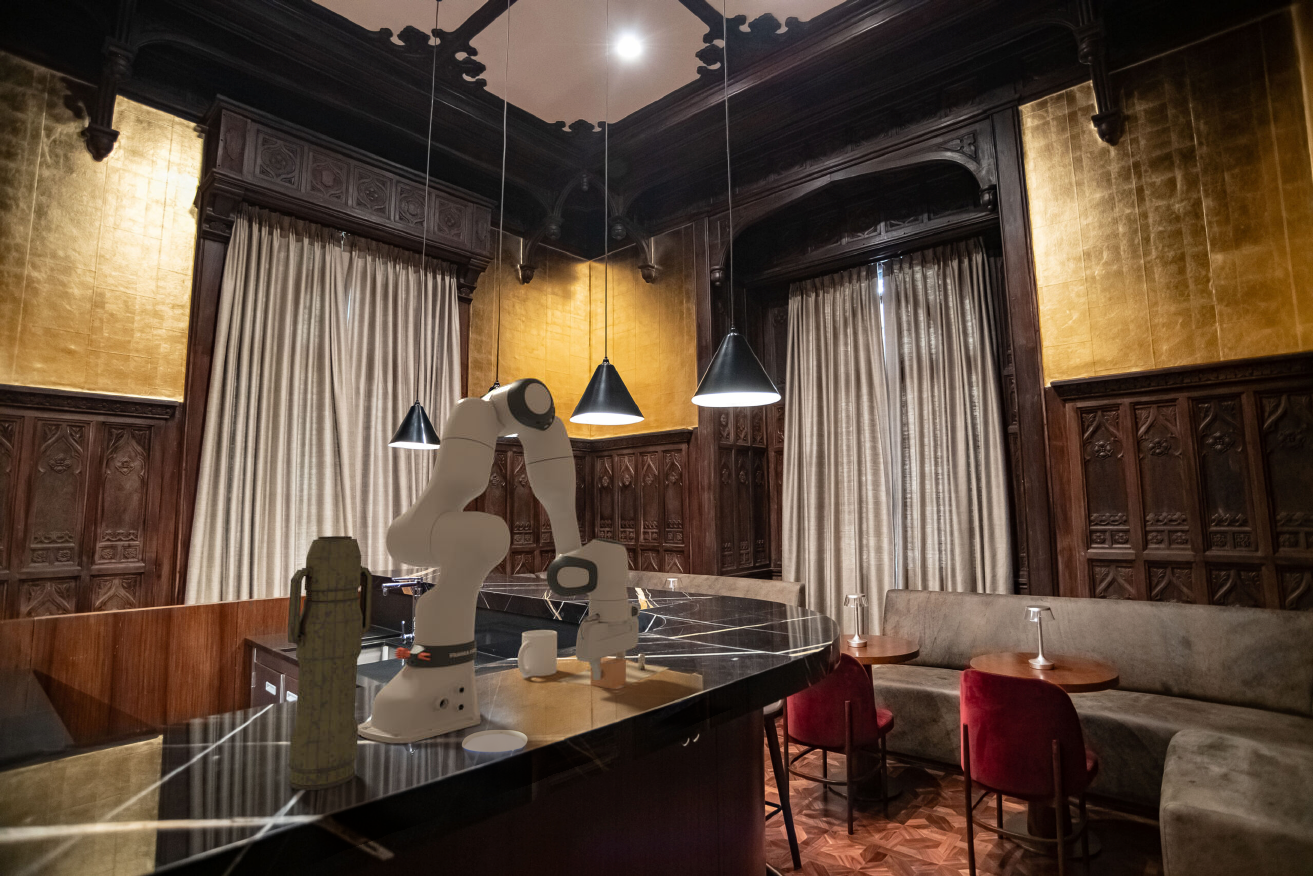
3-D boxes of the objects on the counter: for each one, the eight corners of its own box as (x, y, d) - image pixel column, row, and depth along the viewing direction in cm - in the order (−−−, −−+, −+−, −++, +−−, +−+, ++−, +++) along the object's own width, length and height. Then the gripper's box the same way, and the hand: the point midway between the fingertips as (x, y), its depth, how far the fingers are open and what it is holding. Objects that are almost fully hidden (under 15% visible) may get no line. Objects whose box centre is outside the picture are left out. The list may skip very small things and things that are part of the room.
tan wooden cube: (612, 688, 146) (612, 664, 146) (590, 685, 149) (590, 661, 149) (625, 683, 151) (625, 659, 151) (604, 680, 153) (605, 657, 154)
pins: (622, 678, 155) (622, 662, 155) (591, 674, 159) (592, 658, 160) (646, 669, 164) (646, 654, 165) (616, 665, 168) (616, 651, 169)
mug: (532, 686, 153) (533, 639, 154) (503, 682, 156) (504, 636, 158) (563, 675, 163) (563, 631, 164) (535, 671, 167) (536, 629, 168)
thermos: (377, 771, 102) (388, 536, 106) (302, 799, 92) (317, 538, 96) (340, 760, 106) (351, 535, 110) (265, 786, 96) (280, 537, 100)
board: (616, 695, 145) (616, 689, 145) (556, 686, 153) (556, 680, 153) (669, 672, 166) (669, 667, 166) (614, 665, 173) (614, 661, 174)
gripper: (593, 618, 141) (593, 687, 139) (643, 607, 159) (643, 668, 157) (569, 616, 144) (568, 683, 143) (620, 605, 162) (620, 665, 160)
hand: (608, 675), depth 150 cm, fingers open, 6 cm apart
